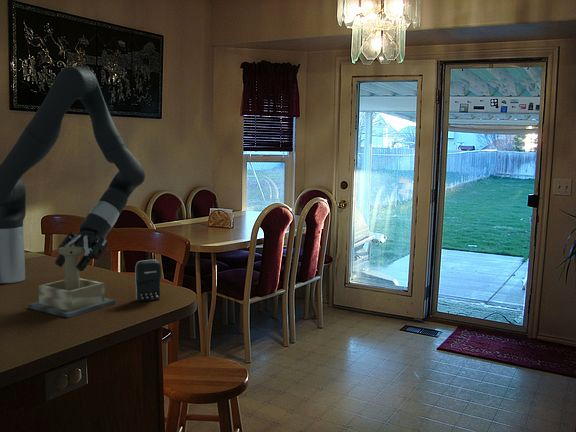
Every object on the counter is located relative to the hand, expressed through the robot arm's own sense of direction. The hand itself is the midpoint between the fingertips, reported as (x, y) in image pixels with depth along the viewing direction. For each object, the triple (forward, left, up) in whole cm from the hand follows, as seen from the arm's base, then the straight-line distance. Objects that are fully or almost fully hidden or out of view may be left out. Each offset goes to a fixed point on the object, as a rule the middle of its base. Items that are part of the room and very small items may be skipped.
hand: (68, 267), depth 163 cm
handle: (0, +1, -10) cm, 10 cm away
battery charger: (+13, +17, -11) cm, 24 cm away
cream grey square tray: (0, +1, -11) cm, 11 cm away
